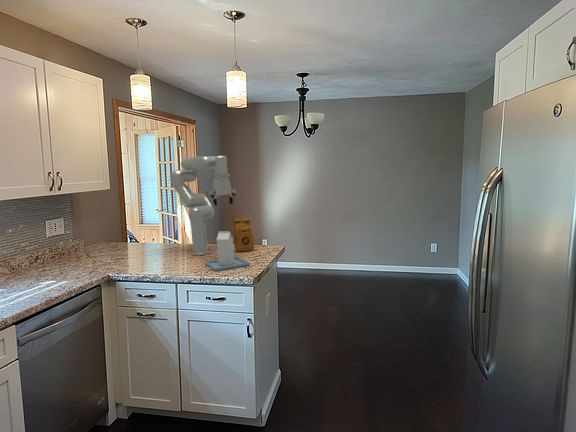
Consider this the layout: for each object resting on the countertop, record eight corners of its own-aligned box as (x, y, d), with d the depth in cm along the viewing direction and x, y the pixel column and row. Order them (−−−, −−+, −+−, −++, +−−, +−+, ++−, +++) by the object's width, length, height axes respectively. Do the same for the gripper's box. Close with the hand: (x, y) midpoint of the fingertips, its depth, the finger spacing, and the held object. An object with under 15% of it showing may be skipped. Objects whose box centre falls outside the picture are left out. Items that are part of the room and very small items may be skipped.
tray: (205, 264, 228) (204, 261, 228) (237, 259, 237) (237, 256, 237) (215, 271, 210) (215, 268, 210) (249, 265, 219) (249, 262, 219)
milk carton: (230, 265, 220) (227, 232, 217) (218, 265, 221) (216, 232, 219) (234, 262, 226) (232, 230, 224) (223, 262, 228) (220, 230, 226)
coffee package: (255, 251, 259) (253, 218, 257) (236, 253, 256) (234, 219, 253) (252, 248, 269) (250, 216, 266) (234, 250, 265) (232, 218, 263)
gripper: (233, 175, 243) (234, 203, 245) (205, 177, 236) (207, 205, 238) (237, 175, 237) (238, 203, 239) (209, 177, 229) (211, 206, 231)
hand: (223, 204), depth 238 cm, fingers open, 9 cm apart
